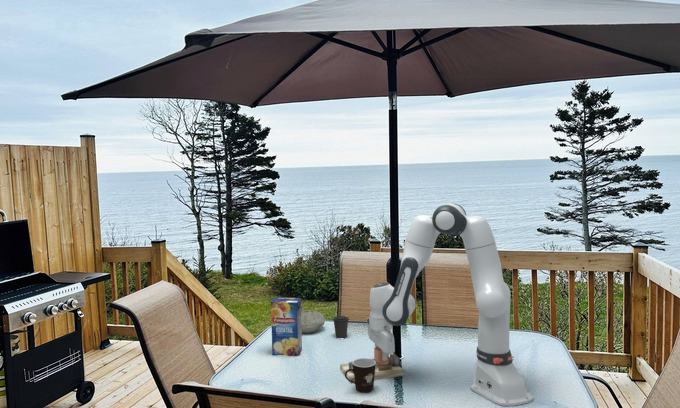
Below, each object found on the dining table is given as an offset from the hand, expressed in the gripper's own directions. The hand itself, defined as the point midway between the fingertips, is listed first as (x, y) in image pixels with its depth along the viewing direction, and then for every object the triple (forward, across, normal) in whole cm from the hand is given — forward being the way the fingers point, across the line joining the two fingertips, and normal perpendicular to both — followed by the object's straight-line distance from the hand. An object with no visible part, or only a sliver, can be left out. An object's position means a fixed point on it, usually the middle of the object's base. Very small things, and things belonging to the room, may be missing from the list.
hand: (381, 357), depth 195 cm
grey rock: (+6, +61, +16) cm, 63 cm away
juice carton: (+6, +33, +32) cm, 47 cm away
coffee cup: (+6, +45, +3) cm, 46 cm away
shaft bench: (+6, 0, +4) cm, 7 cm away
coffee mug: (+6, -13, +14) cm, 20 cm away
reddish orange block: (+2, 0, 0) cm, 2 cm away
